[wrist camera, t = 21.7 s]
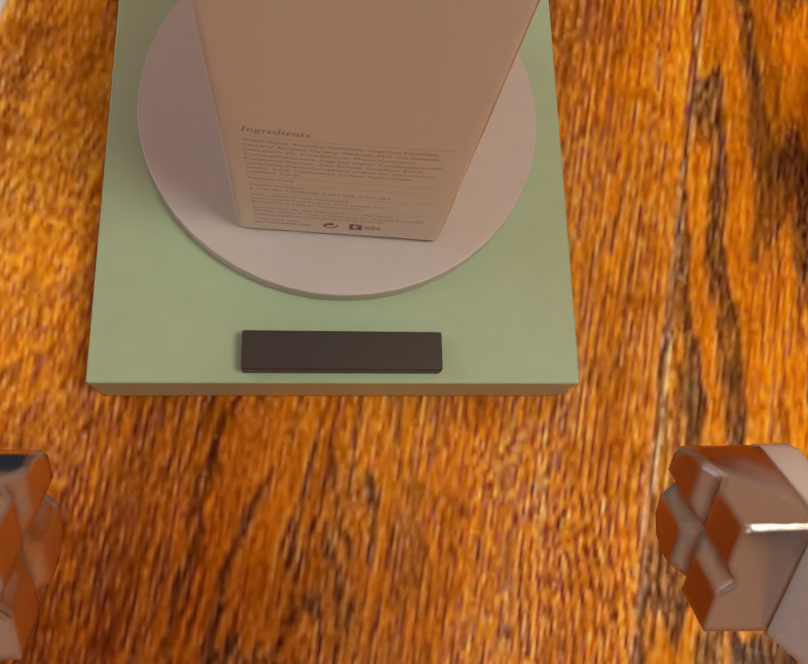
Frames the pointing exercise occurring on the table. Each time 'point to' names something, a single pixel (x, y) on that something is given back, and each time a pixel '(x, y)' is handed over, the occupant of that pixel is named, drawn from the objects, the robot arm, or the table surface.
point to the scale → (321, 254)
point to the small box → (354, 106)
